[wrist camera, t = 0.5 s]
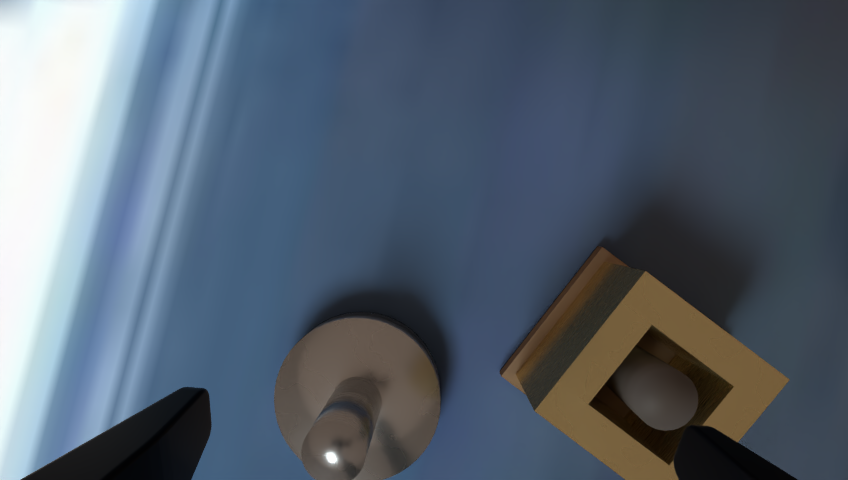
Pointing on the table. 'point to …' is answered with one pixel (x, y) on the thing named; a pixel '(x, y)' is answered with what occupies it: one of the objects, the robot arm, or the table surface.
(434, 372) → the cylinder
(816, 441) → the table surface
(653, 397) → the walnut stand
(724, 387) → the brass square frame
